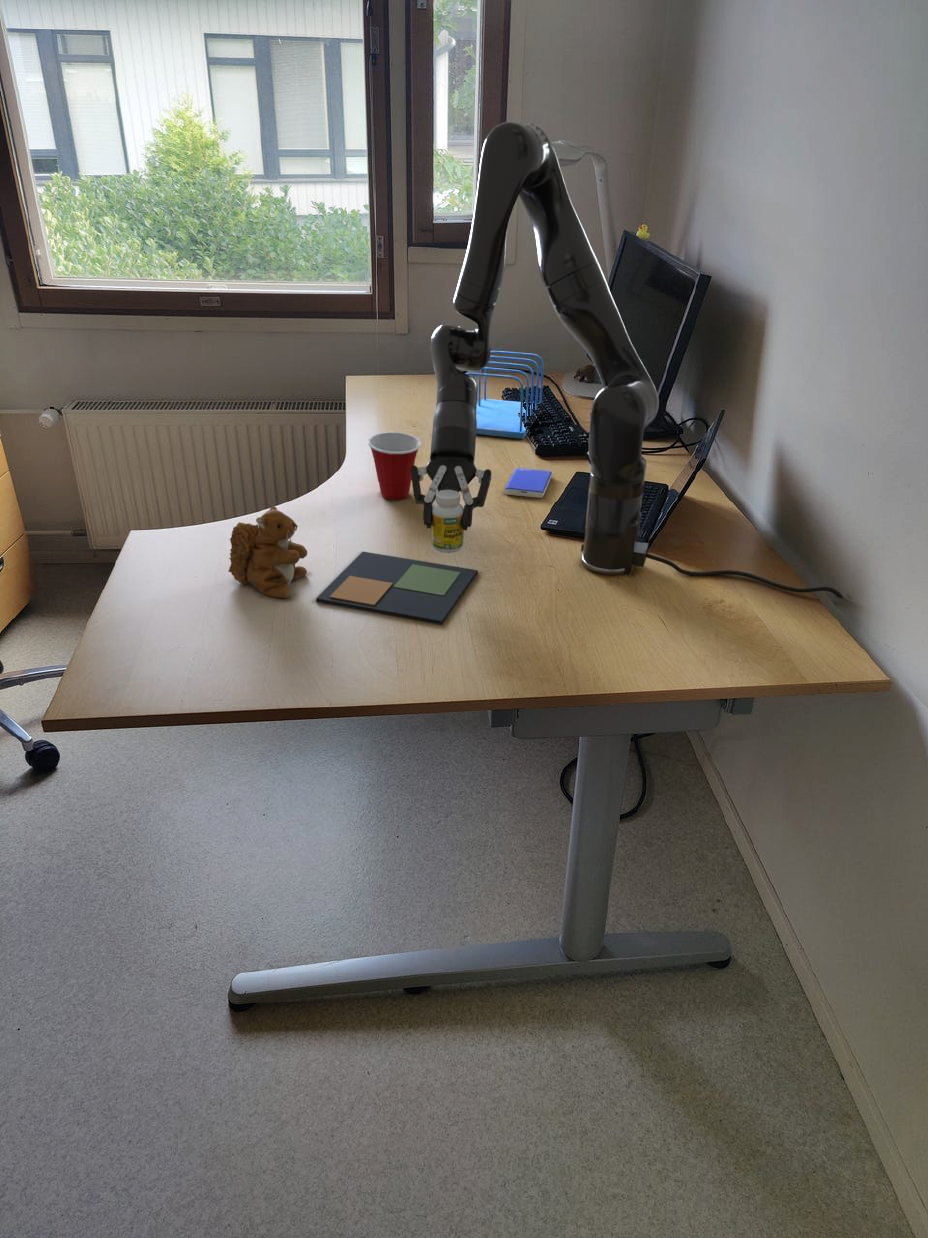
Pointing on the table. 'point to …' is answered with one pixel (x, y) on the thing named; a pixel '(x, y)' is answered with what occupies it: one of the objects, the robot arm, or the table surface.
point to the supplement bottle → (447, 522)
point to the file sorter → (504, 414)
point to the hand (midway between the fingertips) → (447, 527)
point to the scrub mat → (399, 587)
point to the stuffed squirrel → (267, 554)
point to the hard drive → (528, 482)
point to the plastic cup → (394, 462)
